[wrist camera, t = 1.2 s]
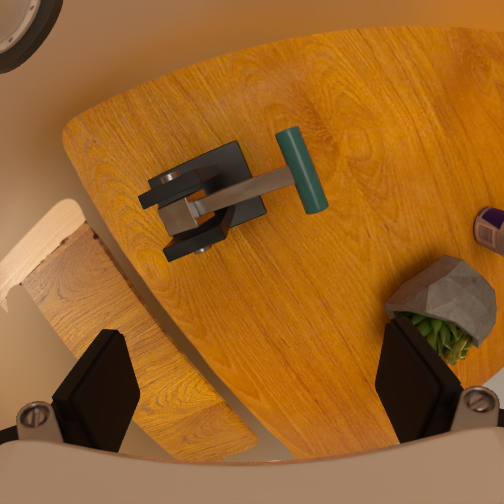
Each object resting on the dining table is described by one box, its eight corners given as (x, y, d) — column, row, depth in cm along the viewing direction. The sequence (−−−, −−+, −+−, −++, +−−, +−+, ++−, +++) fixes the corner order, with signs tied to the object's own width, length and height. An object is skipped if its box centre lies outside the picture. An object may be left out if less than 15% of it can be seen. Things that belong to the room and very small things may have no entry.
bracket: (237, 140, 31) (227, 129, 19) (266, 211, 33) (274, 243, 21) (151, 179, 32) (96, 194, 20) (181, 246, 34) (145, 294, 22)
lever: (302, 124, 18) (291, 126, 16) (332, 201, 19) (324, 213, 17) (168, 183, 23) (148, 191, 21) (195, 241, 25) (177, 254, 23)
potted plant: (488, 312, 33) (426, 404, 33) (420, 261, 40) (356, 348, 39) (524, 289, 23) (447, 416, 22) (434, 222, 29) (350, 339, 29)
